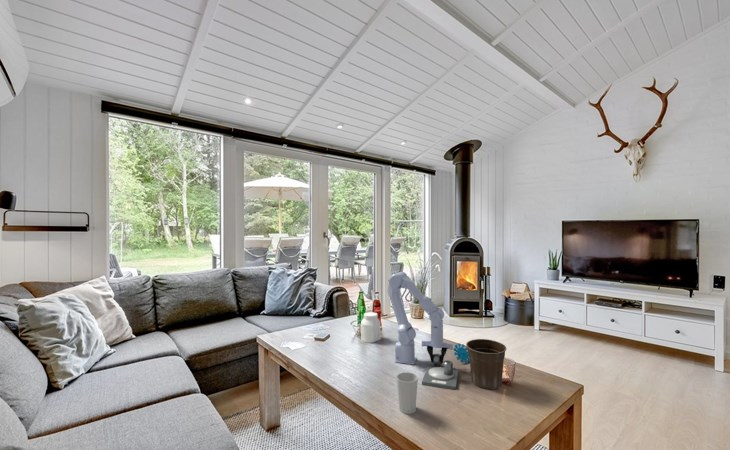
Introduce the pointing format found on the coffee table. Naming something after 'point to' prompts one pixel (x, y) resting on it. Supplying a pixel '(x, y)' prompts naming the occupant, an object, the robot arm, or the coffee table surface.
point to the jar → (370, 328)
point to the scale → (440, 378)
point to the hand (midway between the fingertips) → (437, 362)
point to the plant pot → (486, 362)
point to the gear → (461, 353)
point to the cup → (407, 392)
